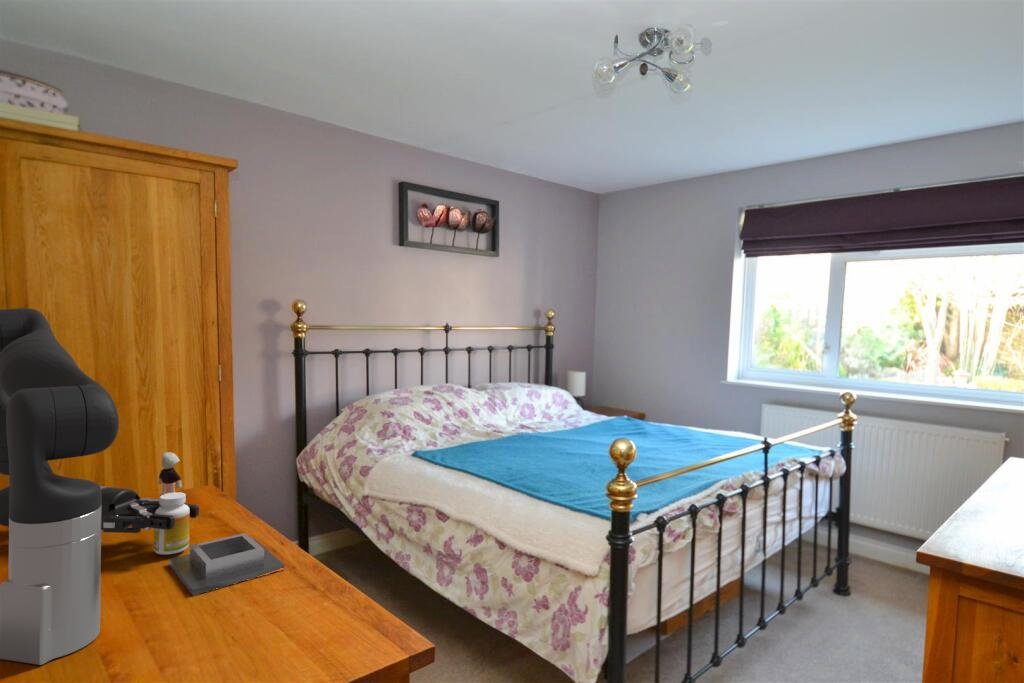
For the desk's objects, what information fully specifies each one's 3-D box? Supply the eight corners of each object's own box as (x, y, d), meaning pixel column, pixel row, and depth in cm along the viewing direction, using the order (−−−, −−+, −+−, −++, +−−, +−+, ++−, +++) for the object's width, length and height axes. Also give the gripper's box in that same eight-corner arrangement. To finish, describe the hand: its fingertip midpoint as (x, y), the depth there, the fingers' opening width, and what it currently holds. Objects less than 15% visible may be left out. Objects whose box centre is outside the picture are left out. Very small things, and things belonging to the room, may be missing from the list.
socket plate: (284, 570, 95) (284, 550, 95) (192, 596, 85) (193, 573, 85) (254, 544, 105) (254, 525, 105) (169, 564, 95) (169, 544, 95)
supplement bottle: (195, 544, 102) (197, 491, 102) (175, 556, 97) (176, 501, 96) (168, 541, 103) (169, 489, 102) (146, 553, 97) (147, 499, 97)
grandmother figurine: (146, 511, 119) (147, 452, 119) (162, 505, 123) (163, 448, 122) (174, 516, 117) (175, 456, 117) (189, 510, 121) (190, 452, 120)
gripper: (65, 499, 94) (154, 509, 92) (135, 477, 109) (213, 484, 106) (64, 543, 95) (153, 554, 92) (134, 515, 109) (212, 523, 106)
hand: (185, 517), depth 99 cm, fingers closed on supplement bottle, 5 cm apart
